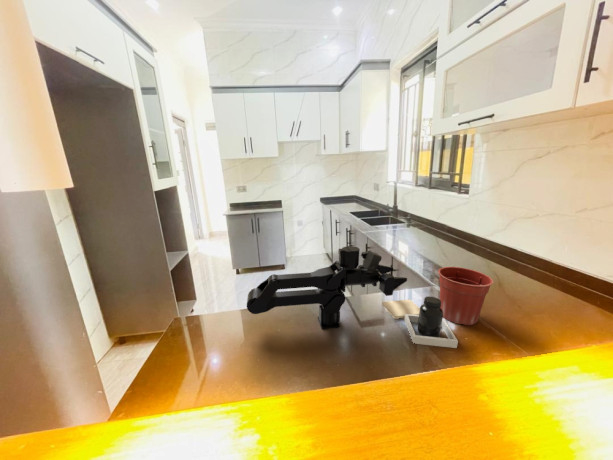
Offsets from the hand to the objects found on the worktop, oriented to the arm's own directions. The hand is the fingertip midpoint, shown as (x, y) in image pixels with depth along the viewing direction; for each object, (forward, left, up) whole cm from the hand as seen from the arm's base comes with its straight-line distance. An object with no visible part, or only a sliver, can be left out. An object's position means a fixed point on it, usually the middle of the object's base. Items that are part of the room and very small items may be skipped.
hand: (399, 273), depth 88 cm
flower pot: (+23, -4, -17) cm, 28 cm away
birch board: (+5, +3, -17) cm, 17 cm away
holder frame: (+6, -11, -17) cm, 21 cm away
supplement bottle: (+6, -11, -17) cm, 21 cm away
